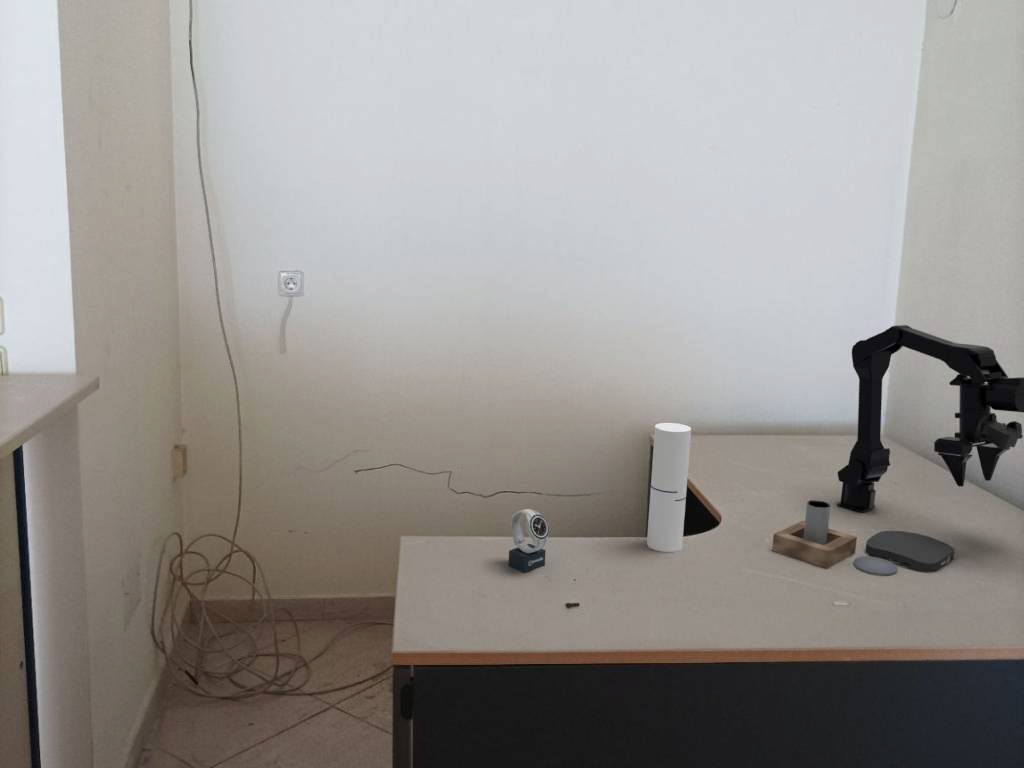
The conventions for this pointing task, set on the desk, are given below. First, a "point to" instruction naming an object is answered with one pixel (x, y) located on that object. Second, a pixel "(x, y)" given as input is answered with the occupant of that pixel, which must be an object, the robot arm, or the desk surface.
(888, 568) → the mat
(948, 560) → the media streaming box
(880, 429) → the robot arm
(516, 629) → the desk surface
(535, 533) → the watch
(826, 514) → the planter
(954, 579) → the desk surface
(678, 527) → the cylindrical container
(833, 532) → the planter holder
